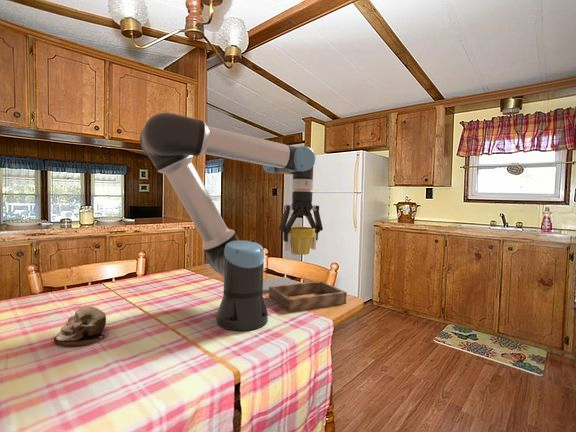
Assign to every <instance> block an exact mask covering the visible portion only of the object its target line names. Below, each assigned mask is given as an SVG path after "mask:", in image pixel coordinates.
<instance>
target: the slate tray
mask: <svg viewBox="0 0 576 432" xmlns="http://www.w3.org/2000/svg"><path fill="white" fill-rule="evenodd" d="M289 284H298V282H296V280H293V279H291V278H290V277H287V276H280V277H273V278H272V277H271V278H263V294H269V287H271V286H280V285H289Z"/></svg>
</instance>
